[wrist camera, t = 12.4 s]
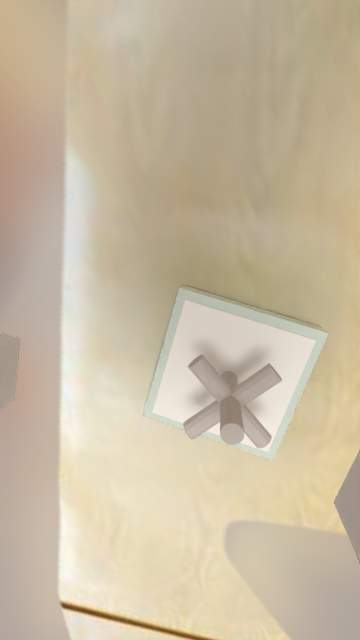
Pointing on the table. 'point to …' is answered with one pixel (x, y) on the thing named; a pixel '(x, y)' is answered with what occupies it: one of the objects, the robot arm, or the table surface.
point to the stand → (232, 362)
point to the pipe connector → (231, 403)
